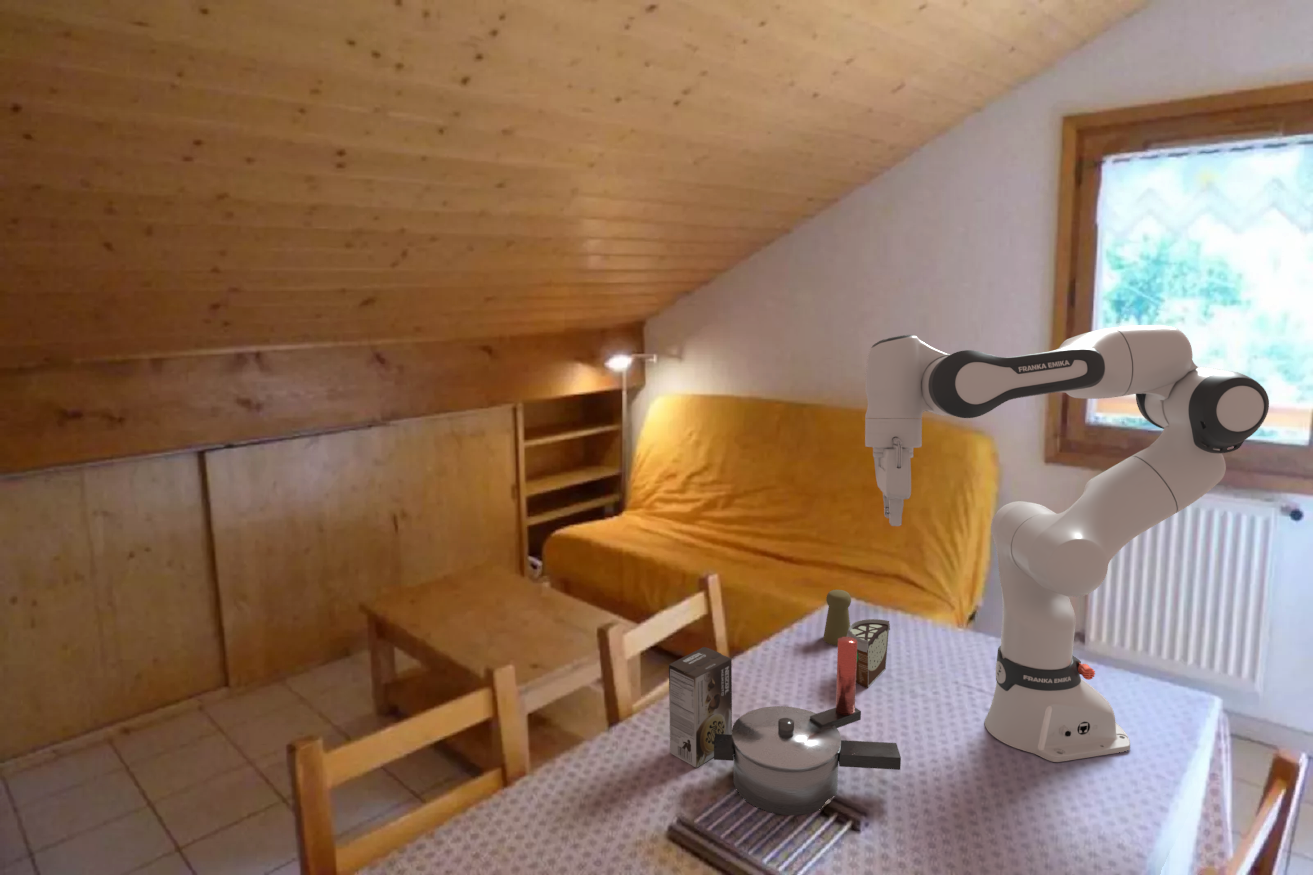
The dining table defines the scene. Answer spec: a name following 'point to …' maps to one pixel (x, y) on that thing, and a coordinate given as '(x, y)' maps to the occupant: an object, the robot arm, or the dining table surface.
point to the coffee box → (699, 704)
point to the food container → (870, 649)
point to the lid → (801, 725)
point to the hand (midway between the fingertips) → (892, 521)
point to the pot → (801, 775)
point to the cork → (837, 616)
